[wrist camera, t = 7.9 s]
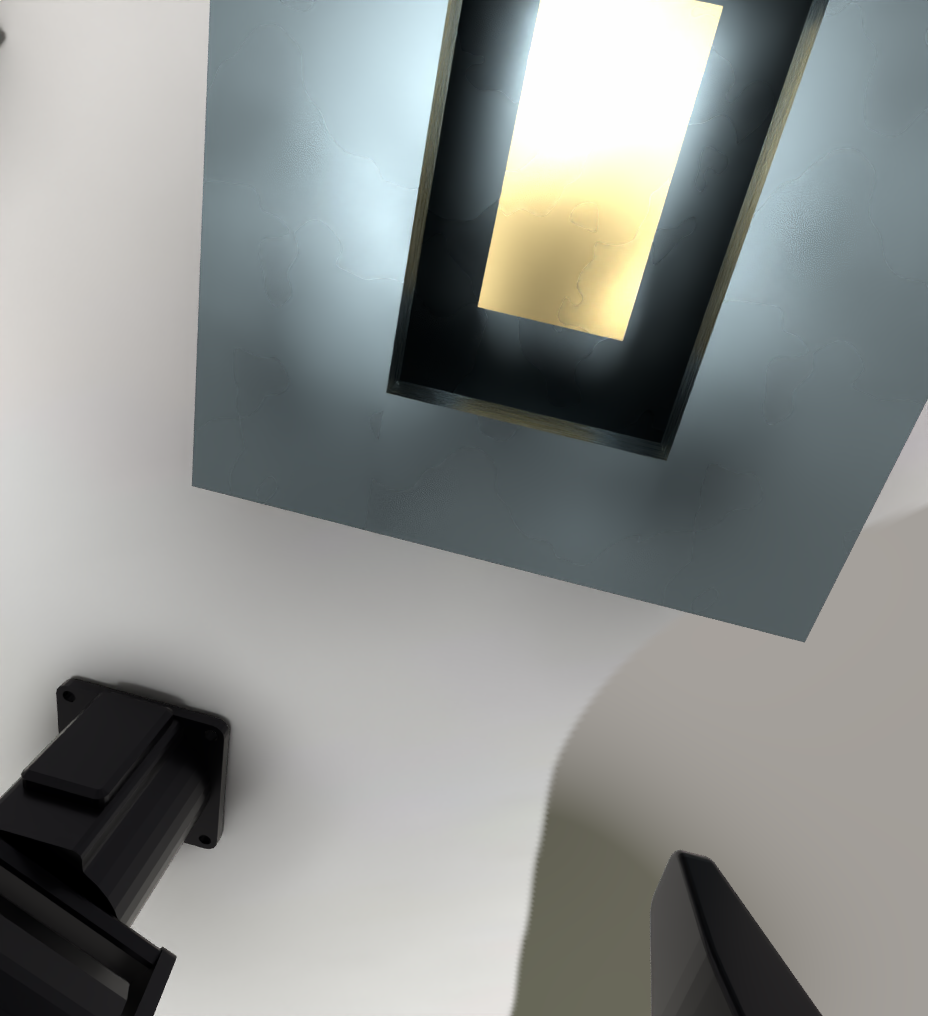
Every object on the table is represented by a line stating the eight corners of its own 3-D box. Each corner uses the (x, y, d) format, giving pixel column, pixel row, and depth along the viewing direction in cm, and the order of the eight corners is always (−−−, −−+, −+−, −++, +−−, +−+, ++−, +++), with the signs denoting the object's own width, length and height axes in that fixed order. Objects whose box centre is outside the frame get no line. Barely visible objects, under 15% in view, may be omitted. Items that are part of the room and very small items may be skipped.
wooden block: (616, 323, 17) (623, 340, 15) (490, 294, 17) (477, 306, 15) (700, 38, 14) (723, 6, 12) (551, 7, 15) (546, -30, 12)
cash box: (729, 498, 19) (805, 642, 13) (316, 397, 20) (191, 485, 13) (991, -150, 13) (1373, -483, 7) (391, -263, 14) (235, -663, 8)
